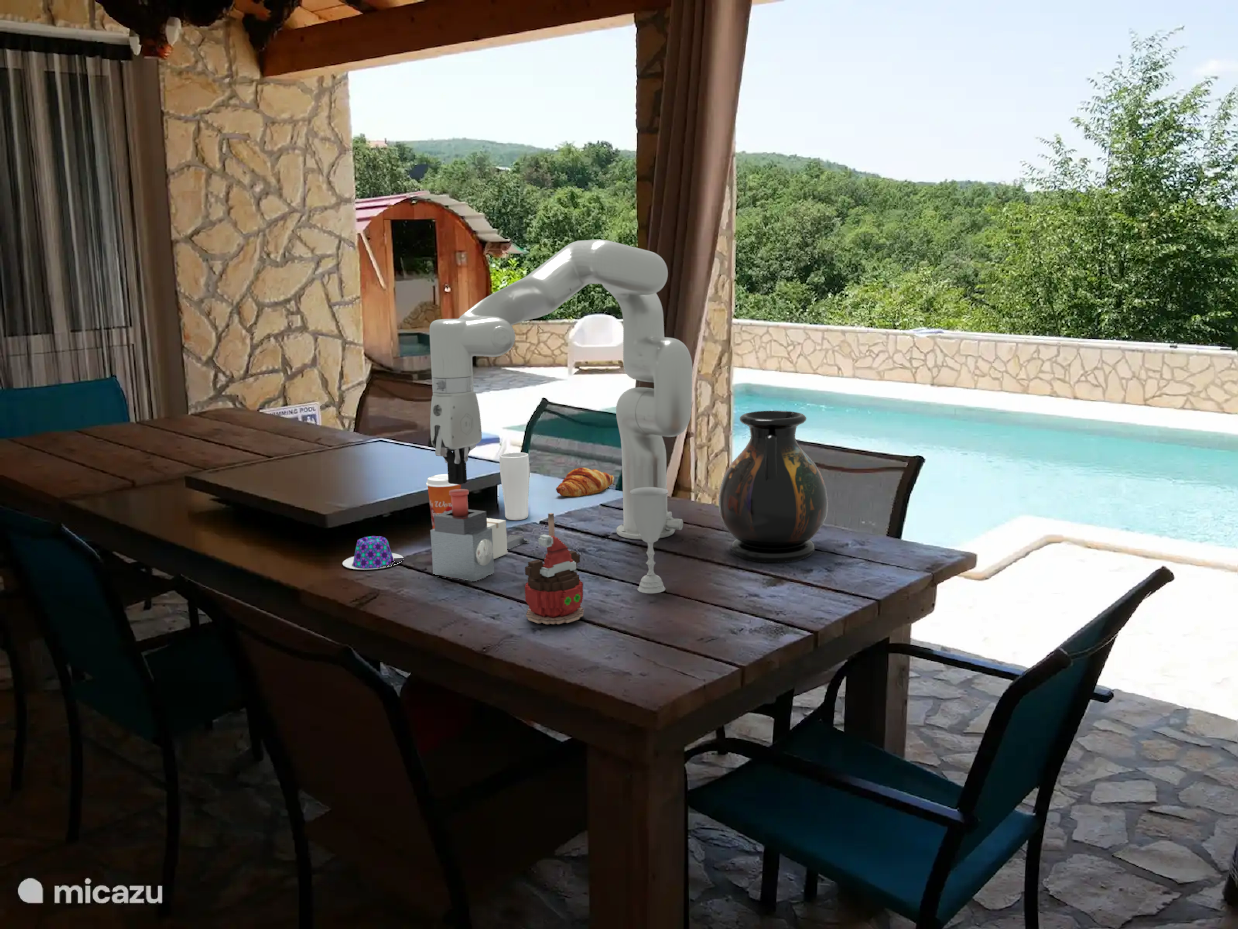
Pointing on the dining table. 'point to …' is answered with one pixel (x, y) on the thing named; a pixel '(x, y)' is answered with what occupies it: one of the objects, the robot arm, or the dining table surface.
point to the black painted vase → (773, 492)
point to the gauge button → (459, 502)
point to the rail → (515, 540)
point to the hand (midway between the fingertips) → (457, 483)
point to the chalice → (650, 529)
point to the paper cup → (440, 494)
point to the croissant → (584, 482)
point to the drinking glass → (515, 484)
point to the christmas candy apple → (554, 583)
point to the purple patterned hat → (371, 554)
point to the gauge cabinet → (462, 545)
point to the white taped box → (498, 536)
